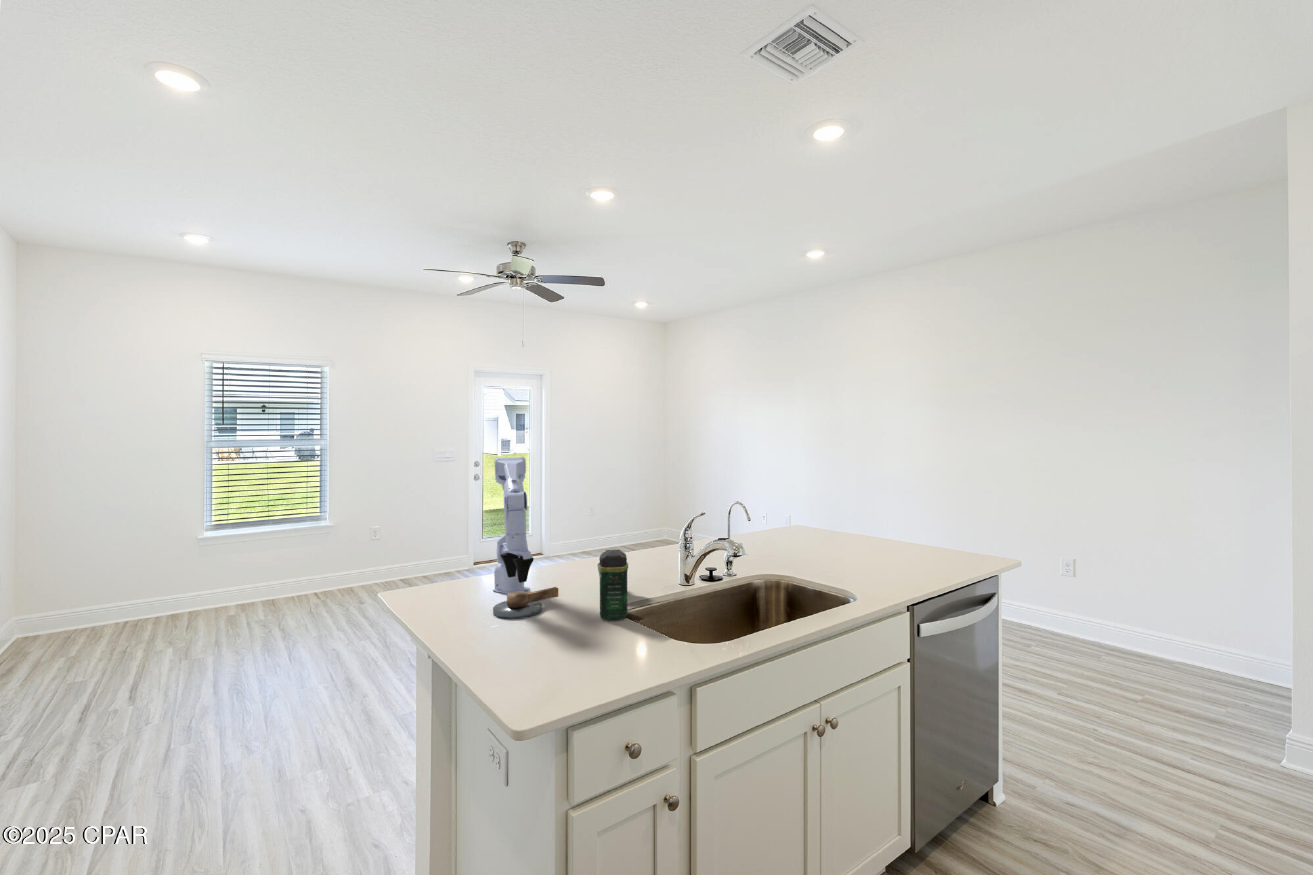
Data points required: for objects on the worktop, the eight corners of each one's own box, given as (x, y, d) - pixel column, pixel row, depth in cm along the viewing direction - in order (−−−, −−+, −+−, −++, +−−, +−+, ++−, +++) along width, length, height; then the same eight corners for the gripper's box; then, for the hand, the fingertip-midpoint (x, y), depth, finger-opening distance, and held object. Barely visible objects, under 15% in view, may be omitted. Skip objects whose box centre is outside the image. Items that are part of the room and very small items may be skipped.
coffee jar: (628, 621, 164) (627, 554, 164) (599, 622, 164) (598, 555, 163) (627, 610, 174) (626, 547, 173) (600, 611, 173) (599, 547, 173)
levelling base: (482, 614, 172) (482, 608, 172) (517, 601, 184) (517, 595, 184) (517, 622, 165) (517, 616, 164) (551, 608, 176) (551, 602, 176)
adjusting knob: (512, 609, 170) (512, 598, 170) (503, 604, 175) (503, 593, 175) (561, 598, 180) (561, 588, 180) (552, 593, 184) (552, 584, 184)
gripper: (493, 531, 177) (494, 576, 177) (513, 538, 165) (514, 587, 166) (515, 528, 181) (516, 572, 182) (536, 535, 170) (537, 582, 170)
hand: (517, 579), depth 174 cm, fingers open, 7 cm apart
